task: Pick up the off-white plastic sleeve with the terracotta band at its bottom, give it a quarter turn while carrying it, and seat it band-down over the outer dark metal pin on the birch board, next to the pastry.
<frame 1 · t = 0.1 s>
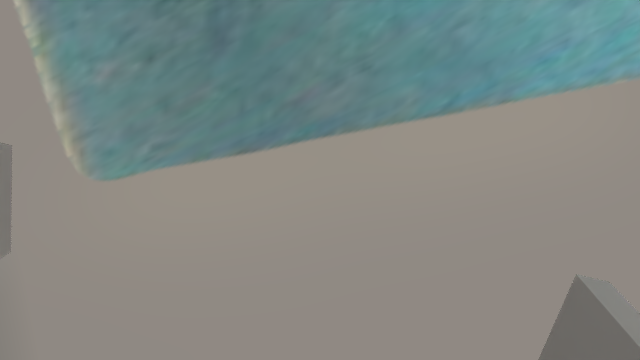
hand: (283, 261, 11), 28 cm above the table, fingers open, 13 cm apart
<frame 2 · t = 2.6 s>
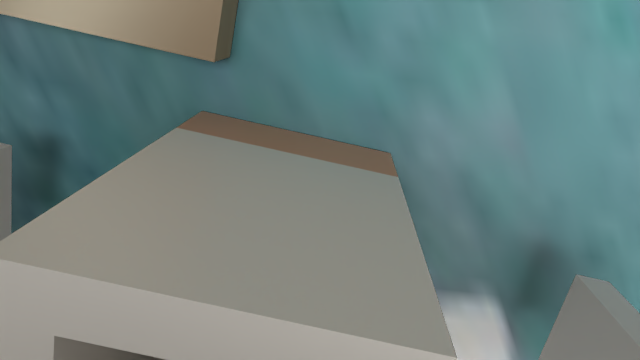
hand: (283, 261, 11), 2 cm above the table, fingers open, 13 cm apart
sleeve: (278, 218, 13), on the table
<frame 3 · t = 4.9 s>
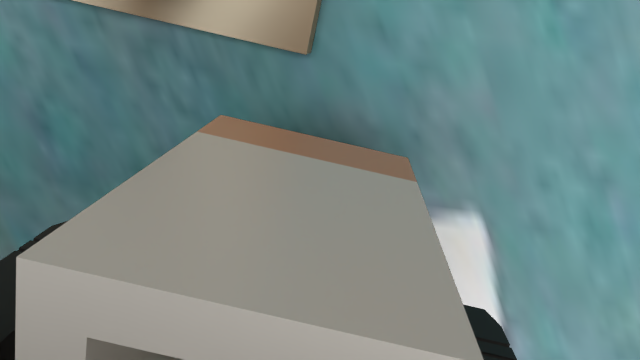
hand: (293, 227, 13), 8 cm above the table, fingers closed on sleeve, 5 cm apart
sleeve: (295, 222, 13), point 8 cm above the table, touching gripper
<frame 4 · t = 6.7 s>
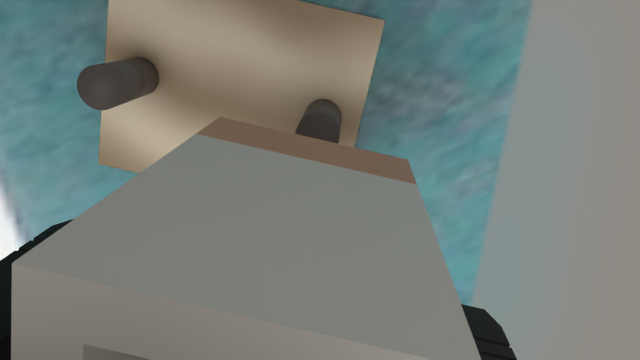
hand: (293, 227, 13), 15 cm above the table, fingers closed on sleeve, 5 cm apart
sleeve: (295, 224, 13), point 15 cm above the table, touching gripper
pin board: (238, 92, 27), on the table
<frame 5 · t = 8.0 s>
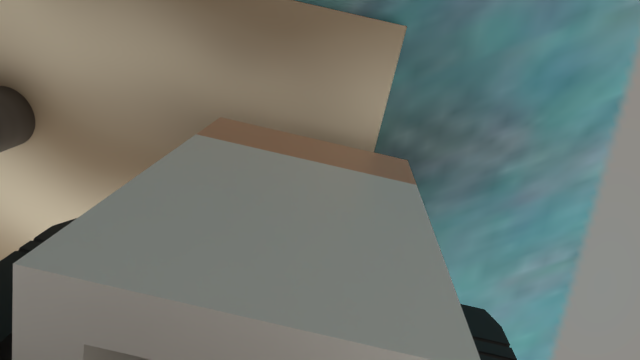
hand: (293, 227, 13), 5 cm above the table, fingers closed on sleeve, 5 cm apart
sleeve: (295, 224, 13), point 4 cm above the table, touching gripper
pin board: (170, 139, 17), on the table
when the fingers open (3 cm above the table, at t = 9.0 s): sleeve stays where it is, resting on pin board.
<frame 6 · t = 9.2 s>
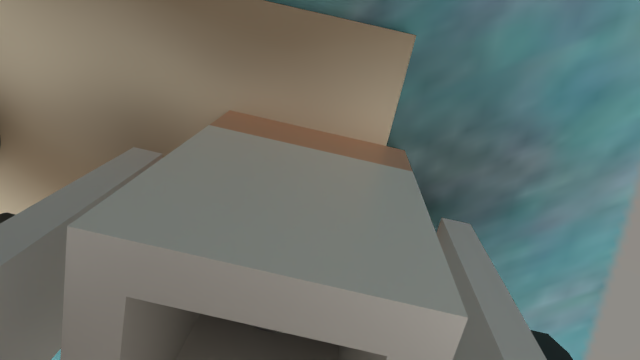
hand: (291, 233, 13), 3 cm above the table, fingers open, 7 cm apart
sleeve: (299, 211, 14), point 1 cm above the table, touching pin board
pin board: (153, 158, 16), on the table
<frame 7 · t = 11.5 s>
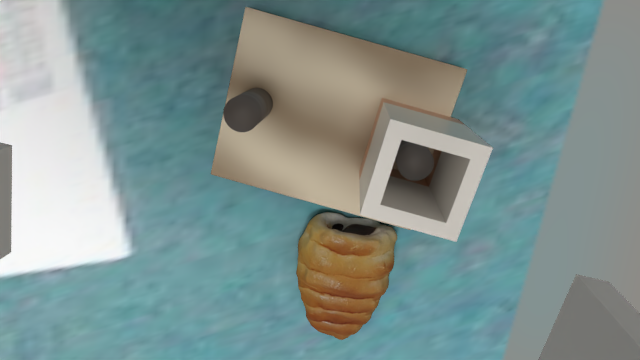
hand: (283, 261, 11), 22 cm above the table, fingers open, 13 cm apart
sleeve: (407, 146, 31), point 1 cm above the table, touching pin board
pastry: (346, 260, 36), on the table
pin board: (333, 120, 32), on the table
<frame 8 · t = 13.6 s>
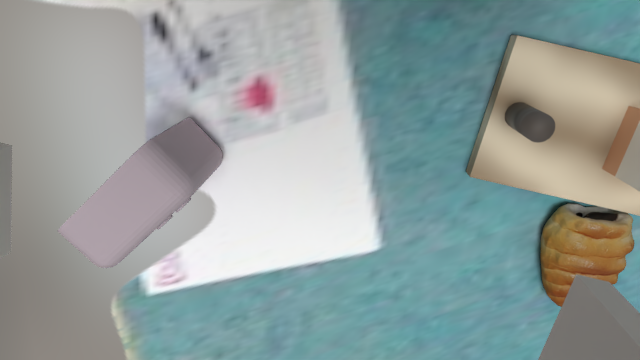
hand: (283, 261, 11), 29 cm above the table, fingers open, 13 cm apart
pastry: (576, 244, 42), on the table
pin board: (574, 126, 38), on the table
electronic device: (175, 171, 42), on the table
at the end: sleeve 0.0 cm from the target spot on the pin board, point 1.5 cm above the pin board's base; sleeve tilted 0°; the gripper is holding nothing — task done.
